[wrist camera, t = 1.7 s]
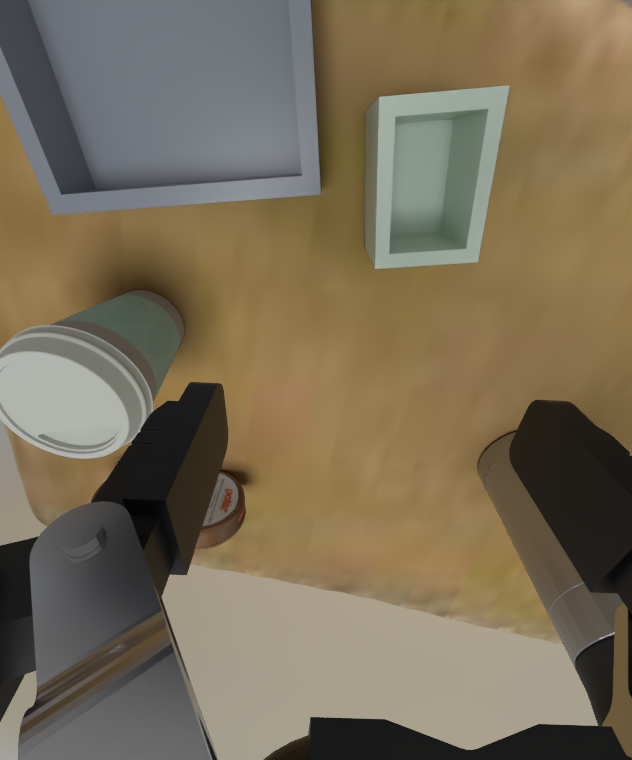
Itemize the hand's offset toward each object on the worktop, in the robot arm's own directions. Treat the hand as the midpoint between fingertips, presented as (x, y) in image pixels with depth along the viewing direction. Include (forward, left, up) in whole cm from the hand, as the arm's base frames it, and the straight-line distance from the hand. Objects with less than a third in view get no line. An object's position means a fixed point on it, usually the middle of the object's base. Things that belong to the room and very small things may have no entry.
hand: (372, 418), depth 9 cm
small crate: (-5, -4, -20) cm, 21 cm away
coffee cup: (+16, +5, -20) cm, 26 cm away
